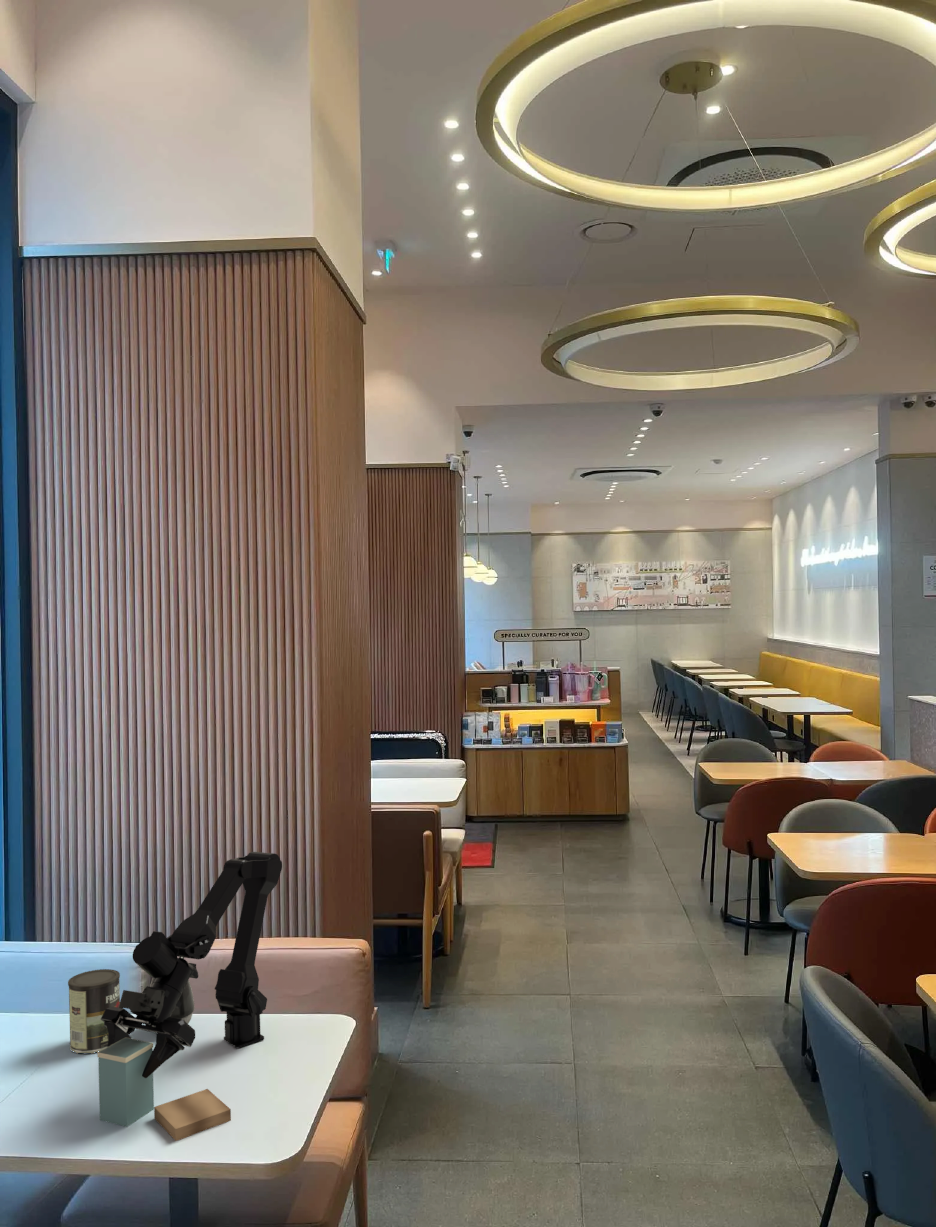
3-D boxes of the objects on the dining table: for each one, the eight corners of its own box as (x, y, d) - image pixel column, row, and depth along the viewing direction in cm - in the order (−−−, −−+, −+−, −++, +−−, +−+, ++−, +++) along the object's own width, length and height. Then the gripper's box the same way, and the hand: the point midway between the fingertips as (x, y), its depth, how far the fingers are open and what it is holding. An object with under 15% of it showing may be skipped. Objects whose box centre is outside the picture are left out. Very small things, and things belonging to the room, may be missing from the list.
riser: (207, 1102, 173) (207, 1088, 173) (230, 1123, 165) (230, 1109, 165) (154, 1121, 166) (154, 1107, 166) (175, 1144, 159) (175, 1129, 159)
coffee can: (128, 1033, 204) (127, 968, 204) (109, 1054, 194) (108, 985, 194) (82, 1034, 204) (80, 969, 204) (60, 1055, 194) (59, 987, 194)
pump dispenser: (204, 1020, 209) (202, 952, 209) (178, 1040, 199) (176, 969, 199) (164, 1017, 212) (163, 950, 212) (136, 1036, 202) (135, 966, 202)
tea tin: (127, 1102, 173) (125, 1037, 173) (154, 1109, 170) (153, 1043, 170) (98, 1120, 167) (97, 1052, 167) (127, 1127, 164) (125, 1058, 164)
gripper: (107, 963, 177) (60, 1046, 167) (183, 976, 169) (139, 1063, 159) (138, 991, 184) (96, 1071, 174) (213, 1003, 176) (173, 1089, 166)
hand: (124, 1073), depth 168 cm, fingers open, 9 cm apart
